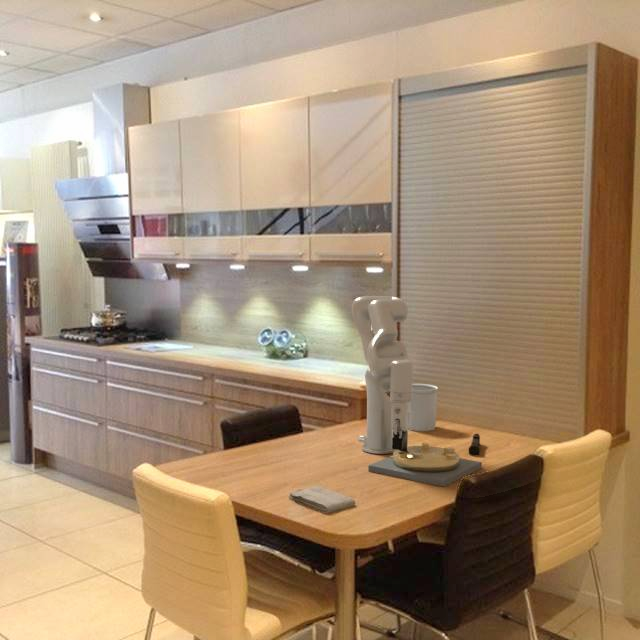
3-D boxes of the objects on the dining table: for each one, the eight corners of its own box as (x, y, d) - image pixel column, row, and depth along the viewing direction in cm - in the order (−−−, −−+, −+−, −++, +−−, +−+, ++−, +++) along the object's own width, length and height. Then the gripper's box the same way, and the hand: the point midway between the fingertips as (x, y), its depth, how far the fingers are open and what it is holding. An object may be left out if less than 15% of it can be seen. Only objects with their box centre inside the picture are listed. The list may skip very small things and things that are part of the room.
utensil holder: (439, 432, 317) (440, 389, 316) (403, 431, 317) (404, 389, 315) (433, 424, 332) (434, 383, 330) (399, 423, 332) (400, 383, 330)
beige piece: (469, 461, 263) (470, 434, 262) (439, 475, 245) (440, 446, 244) (413, 451, 276) (413, 425, 275) (380, 464, 258) (381, 436, 257)
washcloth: (315, 492, 235) (315, 482, 235) (357, 507, 222) (357, 496, 222) (285, 500, 227) (285, 490, 227) (327, 515, 214) (327, 505, 214)
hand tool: (479, 456, 279) (480, 444, 279) (468, 455, 281) (468, 443, 280) (483, 445, 298) (484, 433, 297) (473, 444, 299) (473, 432, 298)
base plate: (368, 471, 258) (368, 464, 258) (410, 454, 280) (410, 448, 280) (443, 486, 241) (443, 479, 241) (481, 467, 264) (481, 461, 264)
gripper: (407, 401, 252) (405, 453, 254) (416, 393, 268) (415, 441, 270) (384, 400, 254) (383, 451, 256) (395, 391, 271) (394, 439, 272)
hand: (399, 446), depth 263 cm, fingers open, 9 cm apart
